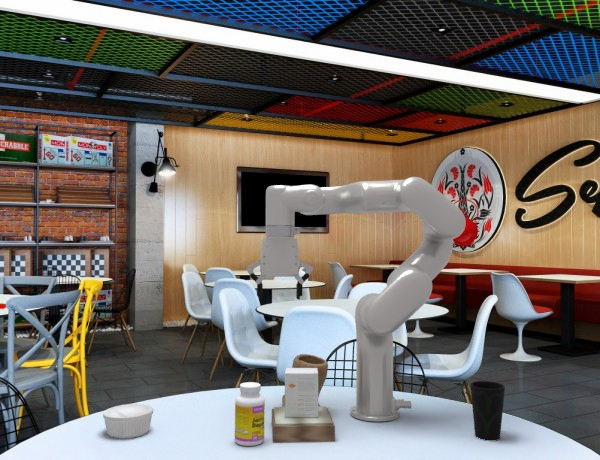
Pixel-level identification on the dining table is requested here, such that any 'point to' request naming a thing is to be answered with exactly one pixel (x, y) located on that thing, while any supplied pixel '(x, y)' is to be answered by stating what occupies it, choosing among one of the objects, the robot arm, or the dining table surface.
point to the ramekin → (128, 420)
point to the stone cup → (311, 362)
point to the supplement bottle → (249, 415)
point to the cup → (487, 408)
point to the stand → (302, 427)
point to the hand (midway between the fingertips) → (279, 299)
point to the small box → (301, 392)
